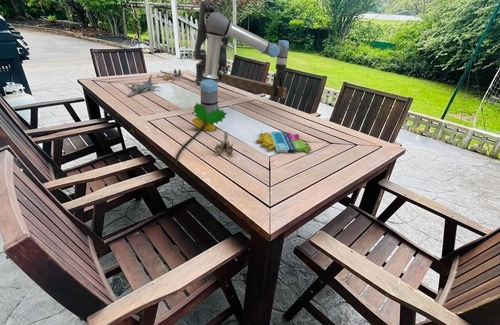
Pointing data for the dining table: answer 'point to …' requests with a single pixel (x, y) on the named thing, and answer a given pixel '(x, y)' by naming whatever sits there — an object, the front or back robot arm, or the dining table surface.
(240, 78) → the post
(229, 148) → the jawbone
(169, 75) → the toy
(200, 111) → the ornament
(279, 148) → the pack of gloves
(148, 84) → the airplane
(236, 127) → the dining table surface
